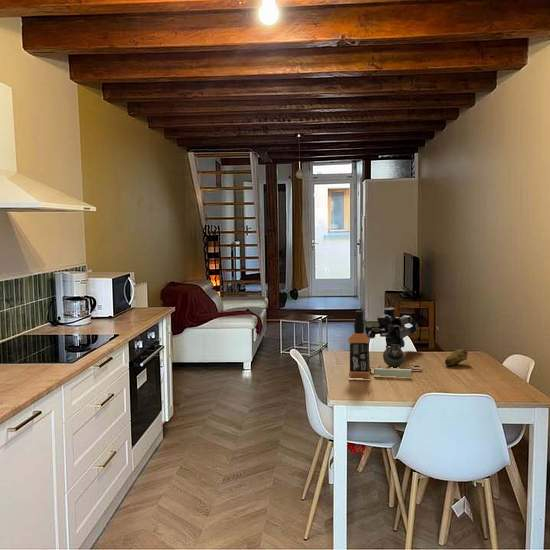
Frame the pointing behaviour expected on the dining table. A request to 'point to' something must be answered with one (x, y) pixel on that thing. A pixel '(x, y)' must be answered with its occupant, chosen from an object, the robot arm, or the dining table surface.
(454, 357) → the olive brown frog figurine
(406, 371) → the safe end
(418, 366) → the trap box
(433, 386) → the dining table surface
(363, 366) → the whiskey bottle
